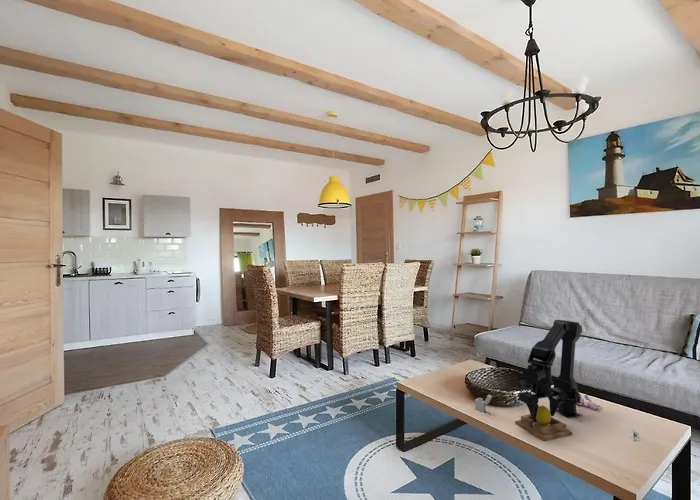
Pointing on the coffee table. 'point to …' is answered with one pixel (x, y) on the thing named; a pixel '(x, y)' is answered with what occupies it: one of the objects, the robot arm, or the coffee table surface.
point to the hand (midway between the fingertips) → (542, 417)
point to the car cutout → (633, 435)
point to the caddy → (543, 428)
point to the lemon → (543, 415)
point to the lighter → (482, 403)
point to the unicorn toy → (589, 403)
